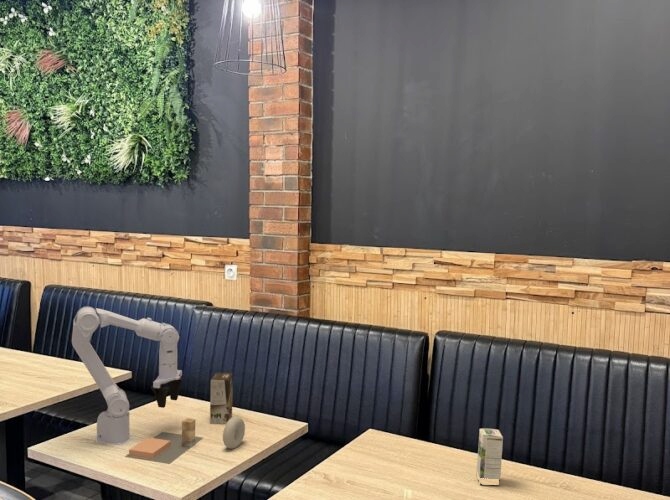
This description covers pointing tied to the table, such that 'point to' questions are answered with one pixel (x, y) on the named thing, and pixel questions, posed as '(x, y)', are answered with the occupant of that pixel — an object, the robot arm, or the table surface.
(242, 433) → the grey round disc
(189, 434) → the wooden block
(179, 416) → the table surface
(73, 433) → the table surface
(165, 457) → the mat
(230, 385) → the coffee box
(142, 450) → the tile
